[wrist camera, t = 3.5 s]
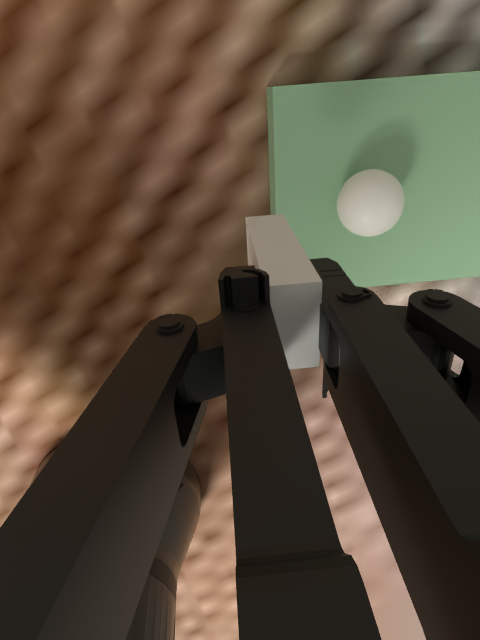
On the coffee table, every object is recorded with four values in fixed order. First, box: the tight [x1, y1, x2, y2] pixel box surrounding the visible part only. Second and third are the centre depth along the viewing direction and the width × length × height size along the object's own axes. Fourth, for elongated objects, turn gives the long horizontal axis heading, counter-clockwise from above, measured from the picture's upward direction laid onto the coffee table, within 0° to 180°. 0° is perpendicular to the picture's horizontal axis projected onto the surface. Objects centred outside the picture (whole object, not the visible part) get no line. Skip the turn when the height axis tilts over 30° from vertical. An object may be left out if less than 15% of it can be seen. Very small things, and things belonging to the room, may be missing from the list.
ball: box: [337, 169, 405, 237], centre depth 23 cm, size 4×4×4 cm
